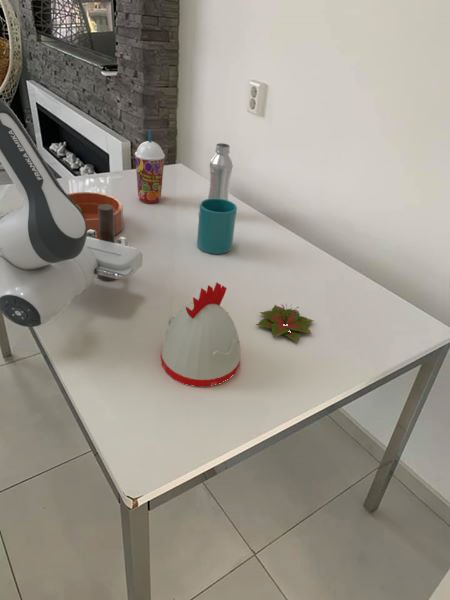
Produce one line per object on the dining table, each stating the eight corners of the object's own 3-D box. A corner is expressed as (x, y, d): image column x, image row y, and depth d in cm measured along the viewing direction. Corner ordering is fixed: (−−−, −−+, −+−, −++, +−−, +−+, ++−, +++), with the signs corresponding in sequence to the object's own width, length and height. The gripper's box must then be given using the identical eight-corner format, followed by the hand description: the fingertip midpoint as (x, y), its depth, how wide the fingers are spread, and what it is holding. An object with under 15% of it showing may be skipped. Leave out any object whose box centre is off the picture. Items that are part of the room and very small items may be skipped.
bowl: (43, 240, 109) (40, 217, 106) (61, 210, 124) (59, 189, 120) (117, 245, 111) (116, 222, 107) (126, 215, 125) (126, 194, 122)
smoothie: (139, 206, 131) (139, 136, 120) (132, 195, 137) (131, 127, 126) (167, 204, 134) (169, 135, 123) (158, 194, 140) (160, 127, 129)
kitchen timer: (255, 362, 80) (268, 293, 72) (198, 400, 72) (205, 325, 63) (202, 324, 88) (208, 257, 79) (144, 354, 79) (144, 282, 71)
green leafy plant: (271, 301, 97) (274, 283, 95) (323, 322, 93) (328, 304, 90) (244, 328, 88) (247, 309, 86) (300, 353, 84) (305, 334, 81)
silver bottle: (225, 210, 135) (232, 142, 124) (229, 219, 130) (237, 149, 119) (204, 209, 134) (209, 141, 123) (207, 219, 129) (213, 148, 117)
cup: (212, 231, 122) (216, 191, 116) (239, 250, 115) (244, 209, 108) (184, 237, 118) (186, 196, 111) (209, 258, 110) (213, 215, 104)
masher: (95, 280, 97) (90, 211, 88) (99, 268, 101) (95, 201, 92) (118, 281, 97) (116, 213, 88) (122, 270, 101) (120, 203, 92)
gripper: (124, 264, 80) (155, 233, 91) (22, 240, 84) (64, 213, 95) (124, 294, 84) (154, 260, 95) (27, 269, 87) (67, 239, 98)
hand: (109, 236), depth 95 cm, fingers open, 6 cm apart
